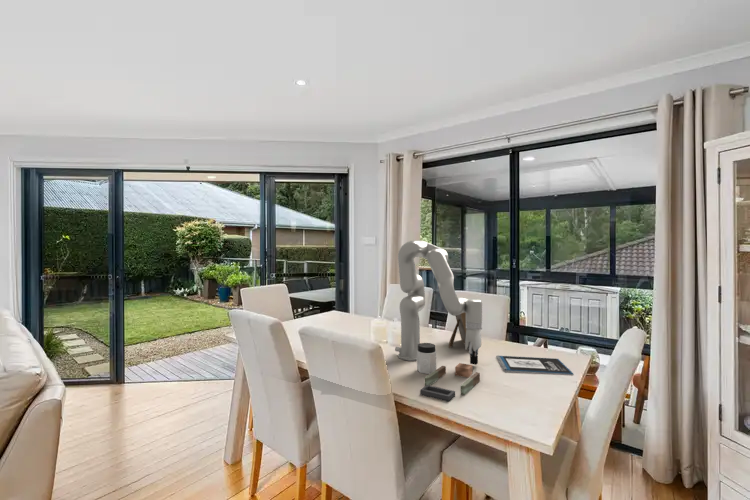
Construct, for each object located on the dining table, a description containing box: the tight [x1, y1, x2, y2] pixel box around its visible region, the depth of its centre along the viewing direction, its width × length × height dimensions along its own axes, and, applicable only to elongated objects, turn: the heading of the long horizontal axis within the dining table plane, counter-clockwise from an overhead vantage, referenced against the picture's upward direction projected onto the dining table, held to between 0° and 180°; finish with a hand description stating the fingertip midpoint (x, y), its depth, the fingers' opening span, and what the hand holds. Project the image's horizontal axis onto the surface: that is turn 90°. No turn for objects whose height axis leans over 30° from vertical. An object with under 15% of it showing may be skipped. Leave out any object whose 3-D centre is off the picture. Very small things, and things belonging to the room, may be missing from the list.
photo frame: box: [448, 312, 467, 349], centre depth 220 cm, size 15×22×25 cm
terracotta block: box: [454, 362, 473, 379], centre depth 173 cm, size 6×6×4 cm
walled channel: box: [424, 365, 481, 396], centre depth 163 cm, size 17×18×4 cm
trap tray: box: [419, 385, 456, 403], centre depth 150 cm, size 12×6×2 cm, turn 56°
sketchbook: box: [495, 354, 574, 376], centre depth 185 cm, size 22×30×2 cm
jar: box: [416, 342, 437, 375], centre depth 178 cm, size 9×8×12 cm
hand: (473, 363), depth 184 cm, fingers closed
